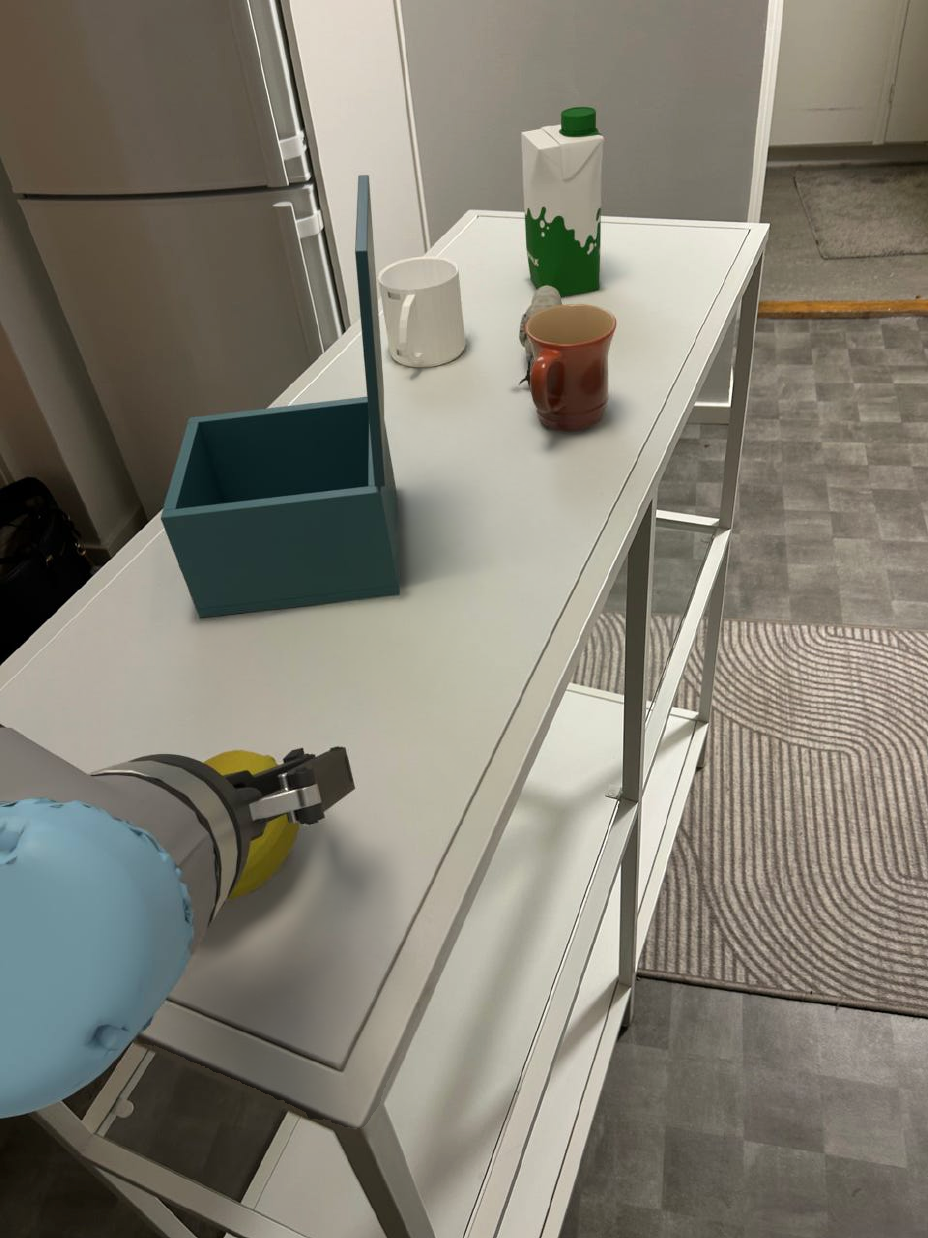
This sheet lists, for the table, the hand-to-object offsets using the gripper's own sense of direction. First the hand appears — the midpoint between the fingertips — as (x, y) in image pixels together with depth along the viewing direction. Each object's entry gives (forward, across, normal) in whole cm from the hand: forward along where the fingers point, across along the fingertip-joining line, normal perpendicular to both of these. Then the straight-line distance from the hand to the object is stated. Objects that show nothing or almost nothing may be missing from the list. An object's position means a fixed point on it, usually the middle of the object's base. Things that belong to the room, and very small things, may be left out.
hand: (227, 788), depth 59 cm
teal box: (+22, +8, +17) cm, 29 cm away
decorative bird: (+41, +38, +35) cm, 66 cm away
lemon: (+1, 0, -5) cm, 5 cm away
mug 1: (+45, +25, +40) cm, 66 cm away
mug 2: (+31, +36, +25) cm, 53 cm away
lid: (+7, +16, +30) cm, 35 cm away
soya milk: (+54, +47, +48) cm, 86 cm away
